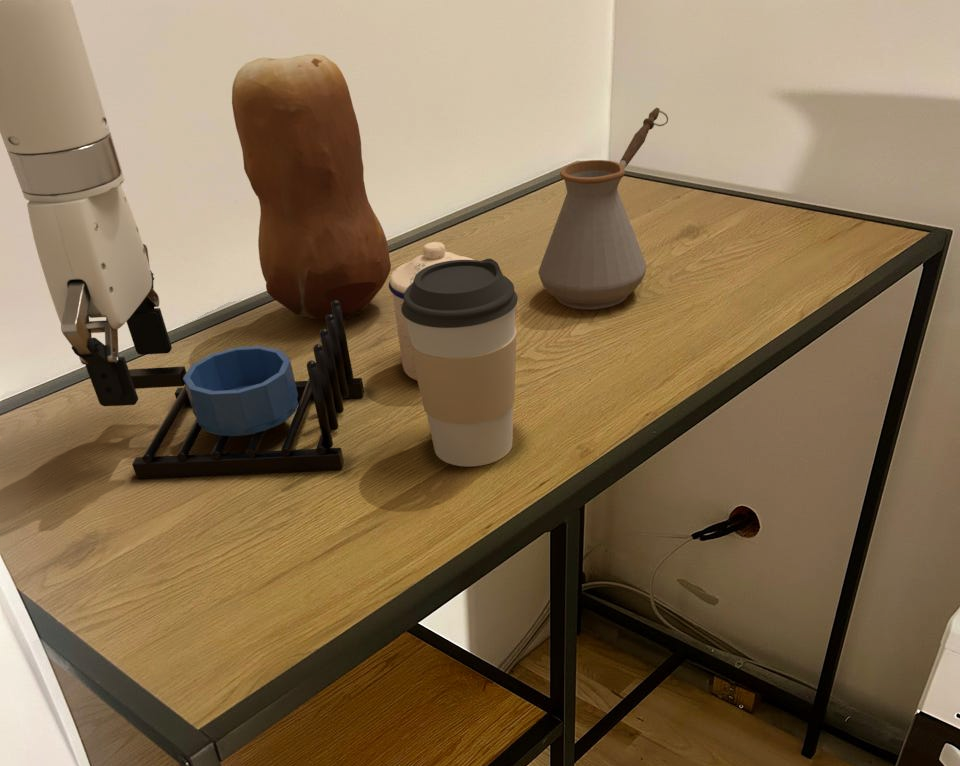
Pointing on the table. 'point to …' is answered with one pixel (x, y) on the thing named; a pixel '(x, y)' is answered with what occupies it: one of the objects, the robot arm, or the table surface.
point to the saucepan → (232, 389)
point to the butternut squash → (309, 185)
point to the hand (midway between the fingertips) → (138, 377)
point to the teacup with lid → (403, 280)
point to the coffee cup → (465, 357)
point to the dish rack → (323, 386)
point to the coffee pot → (595, 235)
